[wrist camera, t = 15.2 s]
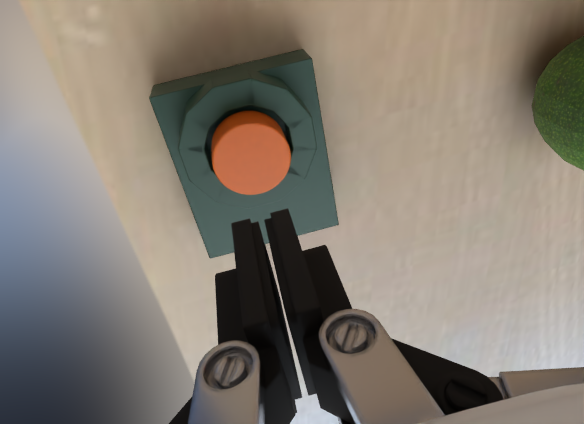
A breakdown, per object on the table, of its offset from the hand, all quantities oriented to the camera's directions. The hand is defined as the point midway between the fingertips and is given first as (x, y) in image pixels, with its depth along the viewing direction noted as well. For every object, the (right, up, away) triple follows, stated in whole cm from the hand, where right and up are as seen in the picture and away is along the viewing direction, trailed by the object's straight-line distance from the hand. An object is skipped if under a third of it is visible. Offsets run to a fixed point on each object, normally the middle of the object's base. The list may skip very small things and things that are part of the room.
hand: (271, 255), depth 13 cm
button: (-1, +5, +9) cm, 10 cm away
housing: (-2, +5, +13) cm, 14 cm away
